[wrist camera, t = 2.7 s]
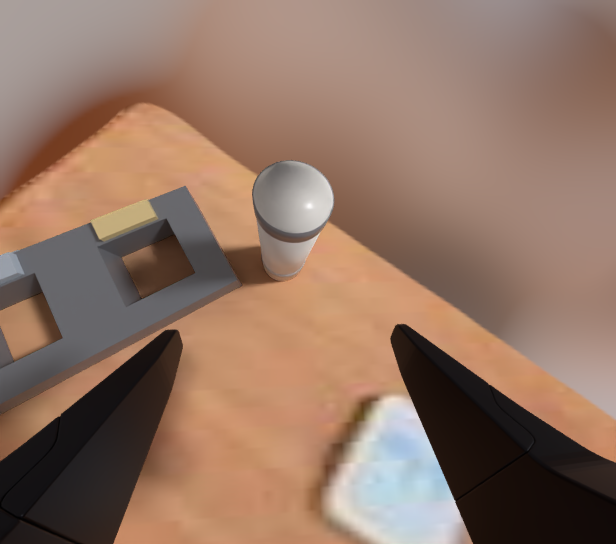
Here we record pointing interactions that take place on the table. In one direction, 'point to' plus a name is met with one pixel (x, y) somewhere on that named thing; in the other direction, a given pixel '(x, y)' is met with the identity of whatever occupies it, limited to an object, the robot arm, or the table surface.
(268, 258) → the white dome-top cylinder
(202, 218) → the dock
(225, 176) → the table surface
